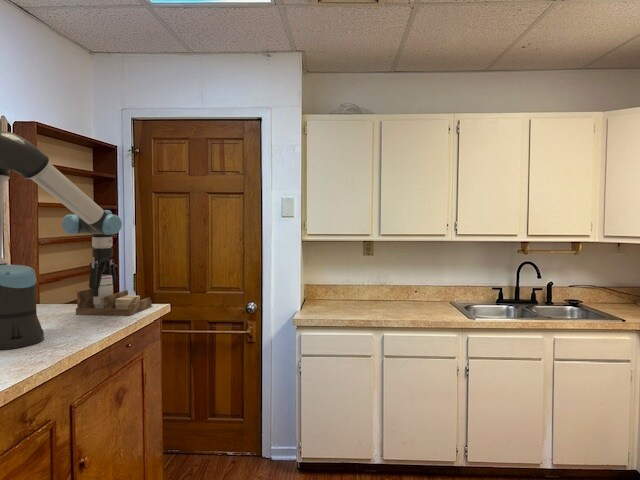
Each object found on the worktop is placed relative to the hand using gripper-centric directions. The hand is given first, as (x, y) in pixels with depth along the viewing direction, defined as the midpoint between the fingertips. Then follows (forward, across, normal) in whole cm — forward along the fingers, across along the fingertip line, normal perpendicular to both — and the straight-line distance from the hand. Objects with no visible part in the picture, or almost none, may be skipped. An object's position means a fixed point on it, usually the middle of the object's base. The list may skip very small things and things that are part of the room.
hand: (103, 302), depth 173 cm
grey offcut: (+4, 0, -11) cm, 11 cm away
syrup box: (+3, 0, 0) cm, 3 cm away
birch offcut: (+1, 0, -11) cm, 11 cm away
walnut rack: (+3, 0, -5) cm, 6 cm away
